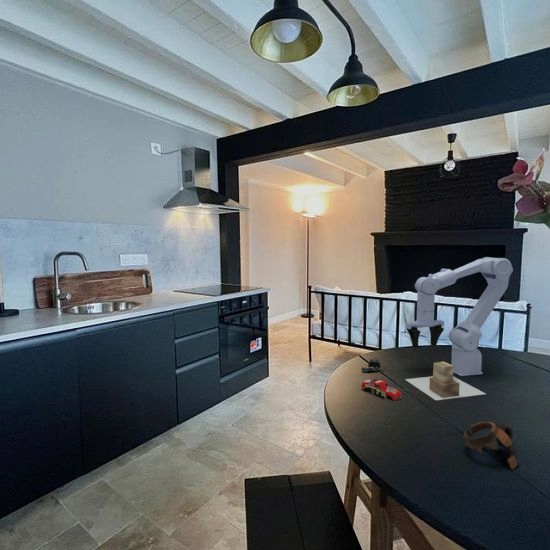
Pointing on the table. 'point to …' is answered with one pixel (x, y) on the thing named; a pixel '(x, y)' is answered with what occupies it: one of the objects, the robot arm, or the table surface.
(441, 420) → the table surface
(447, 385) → the walnut block
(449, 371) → the maple block
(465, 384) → the board
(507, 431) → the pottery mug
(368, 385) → the race car
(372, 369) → the black angular block
